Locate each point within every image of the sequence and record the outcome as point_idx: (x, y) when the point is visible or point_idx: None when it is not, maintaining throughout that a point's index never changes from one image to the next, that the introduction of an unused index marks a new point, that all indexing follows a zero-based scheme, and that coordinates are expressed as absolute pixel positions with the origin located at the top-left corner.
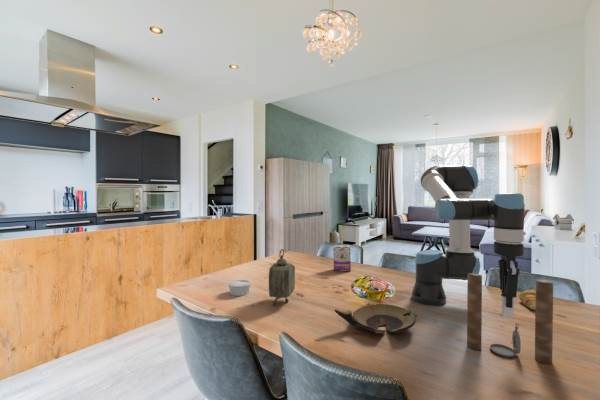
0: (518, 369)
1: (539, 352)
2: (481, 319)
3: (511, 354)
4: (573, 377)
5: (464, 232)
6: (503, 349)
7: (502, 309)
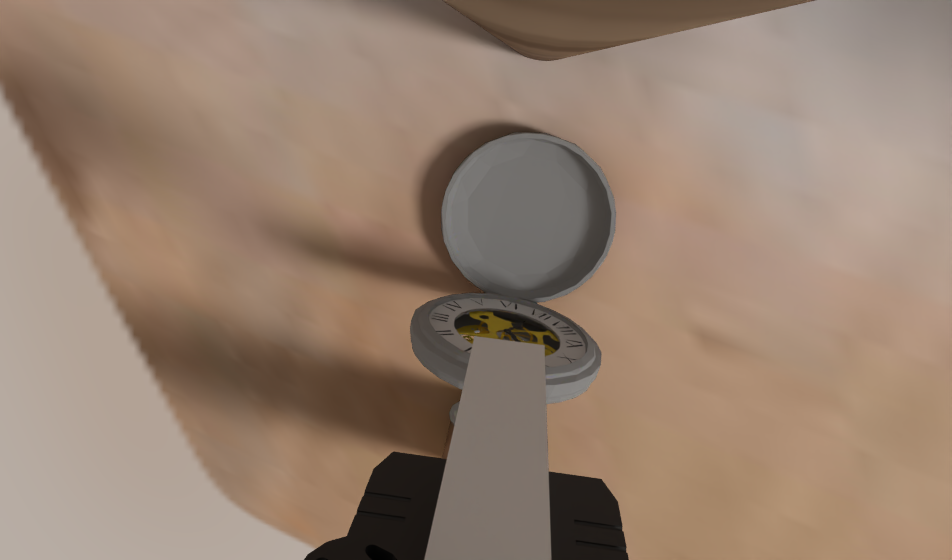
0: (312, 236)
1: None
2: (512, 47)
3: (496, 266)
4: (346, 493)
5: None
6: (564, 237)
7: (509, 385)
